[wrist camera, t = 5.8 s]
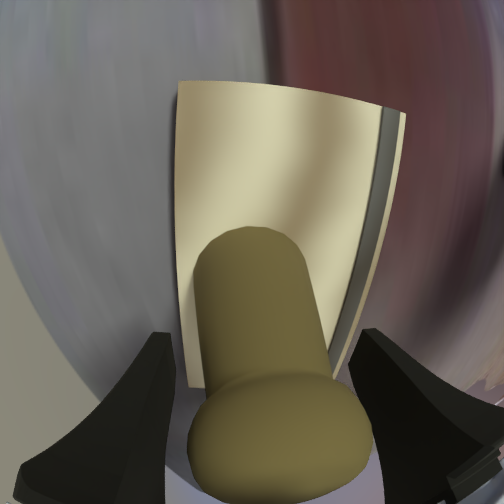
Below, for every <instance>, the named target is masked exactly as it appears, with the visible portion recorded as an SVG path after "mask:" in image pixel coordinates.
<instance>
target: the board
mask: <svg viewBox="0 0 504 504" xmlns="http://www.w3.org/2000/svg"><path fill="white" fill-rule="evenodd" d="M405 119H406V114H405V113H402V112H400V111H397V110H394V109H391V108H387V107H382V106H378V105H375V104H371V103H367V102H363V101H359V100H355V99H351V98H347V97H342V96H337V95H333V94H328V93H322V92H317V91H311V90H305V89H299V88H292V87H285V86H276V85H267V84H257V83H245V82H227V81H179V85H178V99H177V115H176V137H175V239H176V262H177V279H178V293H179V306H180V318H181V328H182V338H183V347H184V356H185V364H186V372H187V379H188V386H189V388H205V384H204V377H203V369H202V362H201V354H200V345H199V337H198V328H197V318H196V308H195V297H194V284H193V270H194V267H195V264H196V262H197V259H198V256H199V254H200V253H201V252H202V251H203V249H204V248H205V247H206V246H207V245H208V244H209V242H210V241H211V240H213V239H215V238H216V237H218V236H220V235H221V234H223V233H225V232H226V231H229V230H233V229H237V228H241V227H245V226H255V227H267V228H270V229H273V230H275V231H278V232H281V233H283V234H285V235H286V236H287V237H288V238H290V239H291V240H292V241H293V242H294V243H296V244H297V245H298V247H299V249H300V251H301V252H302V254H303V256H304V258H305V260H306V264H307V268H308V272H309V276H310V279H311V283H312V287H313V291H314V295H315V299H316V304H317V308H318V312H319V316H320V320H321V325H322V329H323V333H324V338H325V342H326V347H327V351H328V356H329V361H330V365H331V370H332V375H333V379H334V380H335V378H336V376H337V373H338V371H339V369H340V366H341V364H342V362H343V359H344V357H345V354H346V352H347V349H348V347H349V344H350V342H351V339H352V337H353V334H354V331H355V329H356V326H357V323H358V320H359V318H360V315H361V312H362V309H363V306H364V303H365V300H366V297H367V294H368V291H369V288H370V285H371V282H372V278H373V275H374V272H375V268H376V265H377V261H378V258H379V254H380V251H381V247H382V243H383V239H384V235H385V231H386V227H387V223H388V219H389V214H390V210H391V205H392V201H393V196H394V191H395V186H396V180H397V175H398V169H399V163H400V157H401V150H402V143H403V136H404V128H405Z"/></svg>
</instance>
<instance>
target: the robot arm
mask: <svg viewBox="0 0 504 504" xmlns="http://www.w3.org/2000/svg"><path fill="white" fill-rule="evenodd" d="M348 367H349V371H350V375H351V378H352V382H353V386H354V388H355V391H356V393H357V396H358V398H359V400H360V403H361V404H362V406H363V408H364V409H365V411H366V414H367V416H368V418H369V420H370V423H371V425H372V433H373V435H374V439H375V443H376V447H377V451H378V454H379V460H380V465H381V470H382V476H383V485H384V496H385V504H504V457H503V458H502V459H501V460H500V461H499V460H498V458H497V457H498V456H499V455H500V454H501V452H500V451H499V448H500V447H501V446H502V445H503V444H504V408H503V407H499V406H496V405H493V404H490V403H486V402H484V401H482V400H479V399H477V398H475V397H472V396H470V395H468V394H466V393H464V392H462V391H460V390H458V389H457V388H455V387H453V386H452V385H450V384H448V383H447V382H445V381H443V380H442V379H440V378H439V377H437V376H436V375H434V374H433V373H432V372H430V371H429V370H428V369H426V368H425V367H424V366H422V365H421V364H420V363H418V362H417V361H416V360H415V359H413V358H412V357H411V356H410V355H408V354H407V353H406V352H405V351H403V350H402V349H401V348H400V347H399V346H397V345H396V344H395V343H394V342H393V341H391V340H390V339H389V338H388V337H386V336H385V335H384V334H383V333H381V332H380V331H379V330H377V329H376V328H371V329H362V332H361V334H360V337H359V339H358V342H357V344H356V347H355V349H354V352H353V354H352V356H351V359H350V361H349V363H348ZM175 378H176V367H175V361H174V355H173V348H172V341H171V334H170V333H163V332H153V333H152V334H151V335H150V337H149V338H148V340H147V342H146V343H145V345H144V346H143V348H142V349H141V351H140V352H139V354H138V355H137V357H136V358H135V360H134V361H133V363H132V364H131V365H130V367H129V368H128V370H127V371H126V372H125V374H124V375H123V376H122V378H121V379H120V380H119V381H118V383H117V384H116V385H115V386H114V388H113V389H112V390H111V391H110V393H109V394H108V395H107V396H106V397H105V398H104V400H103V401H102V402H101V403H100V404H99V405H98V406H97V407H96V408H95V409H94V410H93V411H92V412H91V414H89V415H88V416H87V417H86V418H85V419H84V420H83V421H82V422H81V423H80V424H79V425H78V426H76V427H75V428H74V429H73V430H72V431H70V432H69V433H68V434H67V435H65V436H64V437H63V438H62V439H60V440H59V441H57V442H56V443H55V444H53V445H52V446H51V447H49V448H48V449H46V450H45V451H43V452H42V453H40V454H38V455H37V456H35V457H33V458H31V459H30V460H28V461H26V462H24V463H23V464H22V465H21V466H20V469H19V472H18V475H17V479H16V483H15V488H14V492H13V498H14V499H15V500H16V501H18V502H20V503H22V504H165V451H166V442H167V436H168V430H169V423H170V418H171V412H172V406H173V400H174V394H175ZM6 504H11V503H9V502H6Z"/></svg>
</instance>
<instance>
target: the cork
mask: <svg viewBox="0 0 504 504" xmlns="http://www.w3.org/2000/svg"><path fill="white" fill-rule="evenodd" d="M193 284H194V297H195V308H196V318H197V328H198V337H199V345H200V354H201V362H202V369H203V377H204V384H205V391H206V398H207V400H206V401H205V402H204V403H203V404H202V405H201V406H200V408H199V410H198V412H197V413H196V415H195V417H194V419H193V422H192V424H191V427H190V430H189V433H188V441H187V455H188V459H189V462H190V466H191V470H192V473H193V477H194V479H195V480H196V482H197V483H198V484H199V486H200V487H201V489H202V490H203V491H204V492H205V493H206V494H208V495H210V496H212V497H214V498H216V499H218V500H220V501H222V502H224V503H229V504H297V503H301V502H305V501H309V500H312V499H315V498H318V497H321V496H323V495H326V494H328V493H330V492H332V491H334V490H336V489H338V488H340V487H342V486H344V485H346V484H347V483H349V482H351V481H352V480H353V479H354V478H355V477H357V476H358V475H359V473H361V472H362V470H363V469H364V468H365V467H366V465H367V462H368V460H369V456H370V453H371V449H372V445H373V435H372V425H371V423H370V420H369V418H368V416H367V414H366V411H365V409H364V408H363V406H362V404H361V403H360V401H359V400H358V398H357V397H356V396H355V395H354V394H353V392H352V391H351V390H350V389H349V388H348V387H347V385H345V384H342V383H340V382H338V381H336V380H334V379H333V375H332V370H331V365H330V361H329V356H328V351H327V347H326V342H325V338H324V333H323V329H322V325H321V320H320V316H319V312H318V308H317V304H316V299H315V295H314V291H313V287H312V283H311V279H310V276H309V272H308V268H307V264H306V260H305V258H304V256H303V254H302V252H301V251H300V249H299V247H298V245H297V244H296V243H294V242H293V241H292V240H291V239H290V238H288V237H287V236H286V235H285V234H283V233H281V232H278V231H275V230H273V229H270V228H267V227H255V226H245V227H241V228H237V229H233V230H229V231H226V232H225V233H223V234H221V235H220V236H218V237H216V238H215V239H213V240H211V241H210V242H209V244H208V245H207V246H206V247H205V248H204V249H203V251H202V252H201V253H200V254H199V256H198V259H197V262H196V264H195V267H194V270H193Z"/></svg>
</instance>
